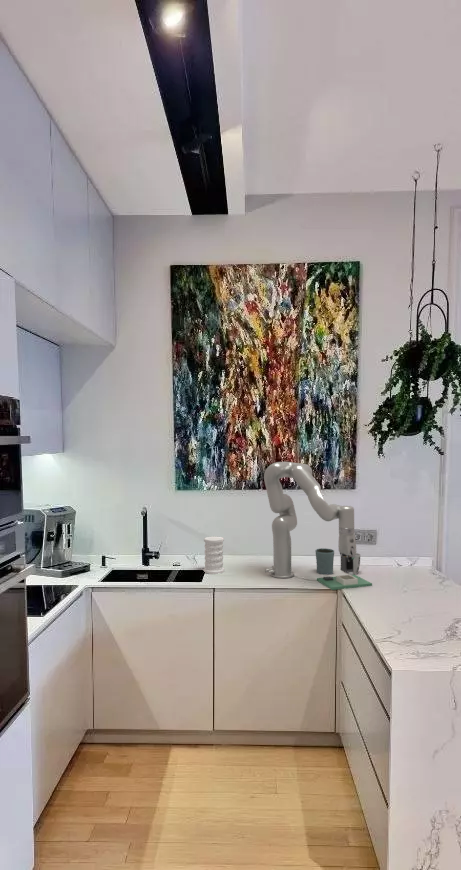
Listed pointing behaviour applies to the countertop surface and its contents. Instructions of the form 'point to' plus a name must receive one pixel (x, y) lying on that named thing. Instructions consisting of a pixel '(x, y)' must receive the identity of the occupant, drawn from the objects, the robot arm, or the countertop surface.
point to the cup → (356, 563)
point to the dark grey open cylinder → (324, 561)
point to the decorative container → (213, 555)
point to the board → (344, 581)
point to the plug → (345, 564)
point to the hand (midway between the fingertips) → (346, 567)
